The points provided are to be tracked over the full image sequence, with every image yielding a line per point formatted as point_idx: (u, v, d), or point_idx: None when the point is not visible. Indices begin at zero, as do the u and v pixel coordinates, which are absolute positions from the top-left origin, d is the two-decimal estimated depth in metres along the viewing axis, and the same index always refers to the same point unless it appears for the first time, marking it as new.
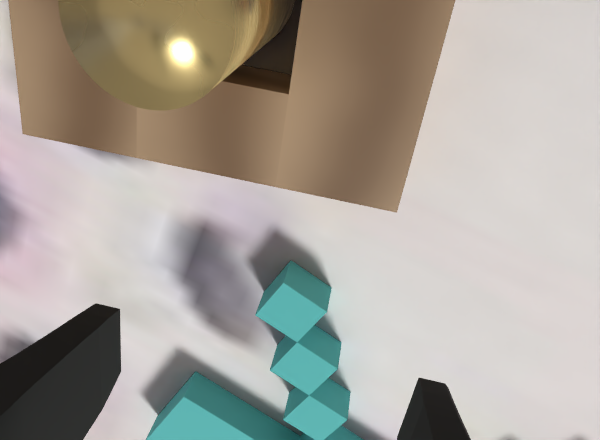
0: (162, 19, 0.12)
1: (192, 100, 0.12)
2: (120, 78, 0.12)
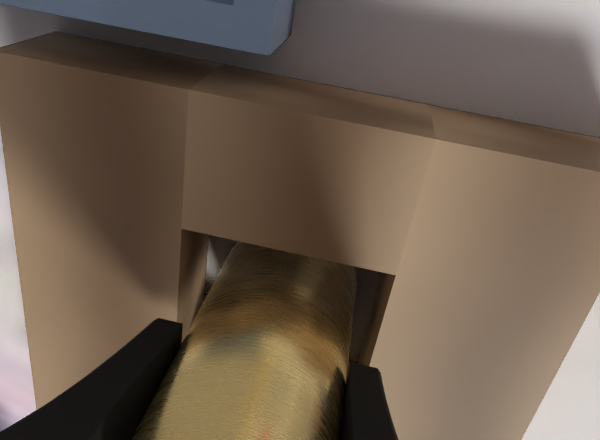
0: None
1: None
2: None
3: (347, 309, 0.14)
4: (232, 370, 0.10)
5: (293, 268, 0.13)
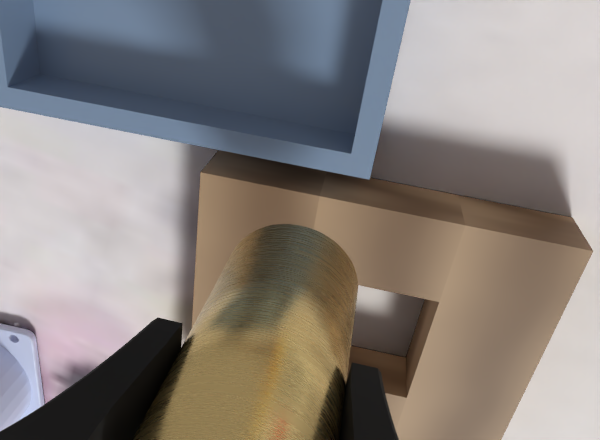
0: None
1: None
2: None
3: (347, 309, 0.14)
4: (228, 371, 0.10)
5: (291, 269, 0.13)
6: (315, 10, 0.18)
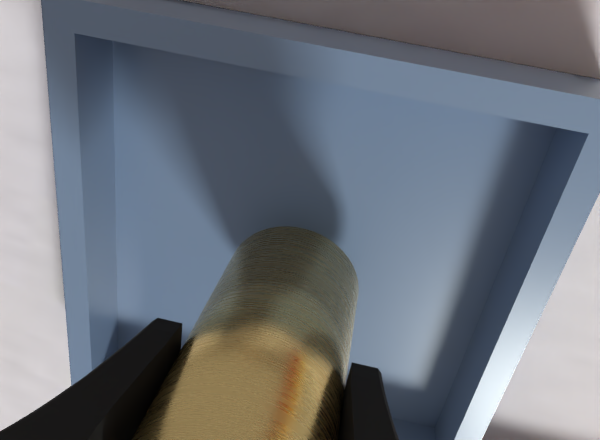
0: None
1: None
2: None
3: (345, 308, 0.14)
4: (220, 373, 0.10)
5: (287, 271, 0.13)
6: (405, 333, 0.18)
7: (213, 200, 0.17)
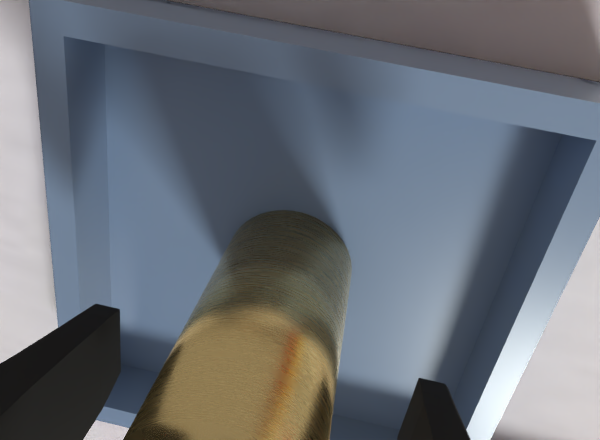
0: None
1: None
2: None
3: (339, 285, 0.15)
4: (225, 340, 0.11)
5: (284, 250, 0.14)
6: (405, 343, 0.18)
7: (209, 207, 0.17)
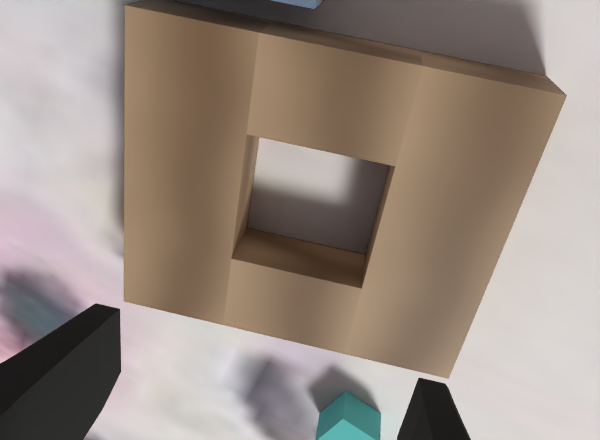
0: None
1: None
2: None
3: None
4: None
5: None
6: None
7: None
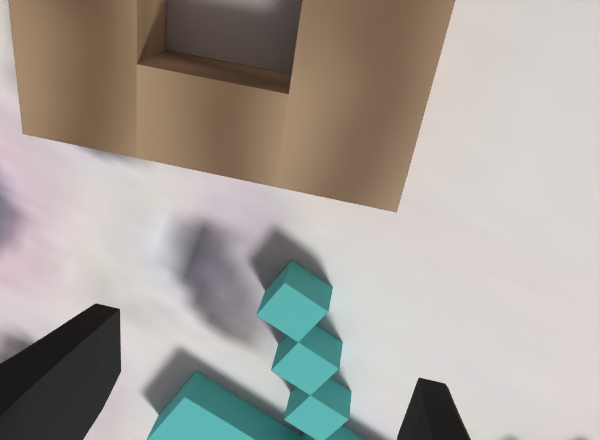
0: None
1: None
2: None
3: None
4: None
5: None
6: None
7: None
